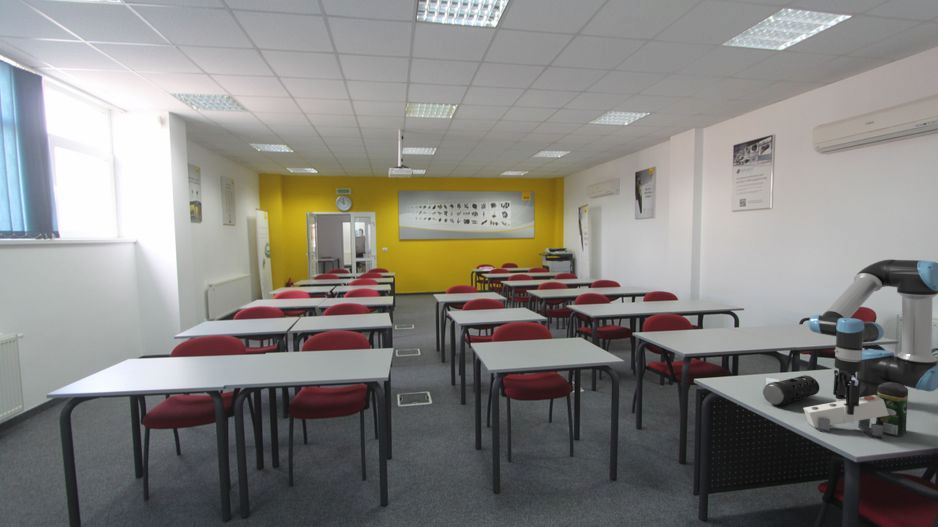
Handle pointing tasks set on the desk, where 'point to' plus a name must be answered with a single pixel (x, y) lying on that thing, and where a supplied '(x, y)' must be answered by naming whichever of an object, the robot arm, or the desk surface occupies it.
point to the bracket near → (875, 429)
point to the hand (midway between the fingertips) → (844, 418)
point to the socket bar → (835, 411)
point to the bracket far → (823, 425)
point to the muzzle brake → (790, 390)
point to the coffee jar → (893, 408)
